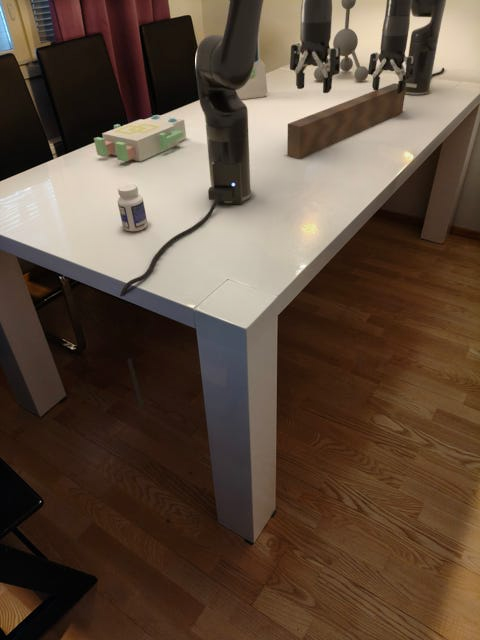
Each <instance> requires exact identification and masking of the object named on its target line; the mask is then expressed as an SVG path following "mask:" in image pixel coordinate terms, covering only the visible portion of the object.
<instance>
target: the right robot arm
mask: <svg viewBox="0 0 480 640" xmlns="http://www.w3.org/2000/svg"><path fill="white" fill-rule="evenodd" d="M446 3H447V0H386V5H385V6H386V7H385V14H384V20H383V24H382V29H381V41H380V48H379V49H380V53H378V52H373V53H370V57H369V62H368V67H367V70H368V76H369V75H370V76H371V77H372V85H371V86H372V90H373V91H375V90H378V89H380V88H379V87H380V80H381V74H382V73H383V72H384V71H385V72H386V71H390V72H394V74H396V75H397V77H398V79H399V80H398V83H397V84H398V89H397V93H398V94H400V93H402V92H403V91H404V89H405V85H406V92H405V95H410V96H423V95H427V94H429V93H430V87H431V83H432V78H433V77H435V76H437V75H442V74H443V73H444V72H445V68H444V67H442V68H441V70H440V71H438V72H434V73H433V71H434V66H435V59H436V53H437V49H438V42H439V36H440V32H441V26H442V22H443V16H444V11H445V7H446ZM411 15H412V17H415V18H430V20H429V22H428V23H427V24H425V25H423V26H421V27H418V28H415V29H414V30H412V31H411V35H410V41H409V47H408V54H407V56H406V50H407V45H408V38H409V31H410V24H411V23H410V22H411ZM378 61H379V65H378V66H377V63H378ZM404 64H405V66H404Z"/></svg>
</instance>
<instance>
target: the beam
mask: <svg viewBox="0 0 480 640" xmlns="http://www.w3.org/2000/svg"><path fill="white" fill-rule="evenodd" d="M397 89H398V83H391V84H388V85H386V86H383V87H381V88H379V89H378V90H373V91H370V92H368V93H364V94H363V95H360V96H357V97H355V98H352V99H349V100H347V101H344V102H341V103H339V104H337V105H334V106H331V107H329V108H326V109H323V110H320V111H318V112H315V113H313V114H310V115H307V116H304V117H302V118H299V119H297V120H294V121H292V122H289V123H287V143H286V144H287V152H286V153H287V154H286V155H287V156H288V157H291V158H296V159H299V160H300V159H303V158H305V157H307V156H309V155H312V154H313V153H316V152H318V151H320V150H322V149H325V148H327V147H329V146H331V145H334V144H336V143H338V142H340V141H342V140H345V139H347V138H349V137H351V136H354V135H355V134H358V133H360V132H362V131H364V130H367V129H369V128H371V127H373V126H376V125H378V124H380V123H383V122H384V121H387V120H389V119H391V118H393V117H396V116H398V115H400V114H402V113H403V112H404V111H403V110H404V105H405V97H406V94H405V92H406V85H405V89H404V91H403V92H402V93H400V94H398V93H397Z"/></svg>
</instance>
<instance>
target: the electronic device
mask: <svg viewBox="0 0 480 640" xmlns="http://www.w3.org/2000/svg"><path fill="white" fill-rule="evenodd" d="M260 49H261V48H260V31H259V32H258V40H257V48H256V55H255V62H254V67H253V71H252V74H251V76H250V78H249V80H248V82H247V83H246V84H245V85H244V86H243V87H242V88H240V89H238V90H236V92H237V94H238V96H239V98H240V99H241V100H247V99H255V98H256V99H257V98H265V97H266V96H267V94H268V84H267V83H268V82H267V75H266V74H267V73H266V66H265V62H264V61H263V60H262V59H261V56H260V52H261V50H260Z"/></svg>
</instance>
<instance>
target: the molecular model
mask: <svg viewBox="0 0 480 640" xmlns="http://www.w3.org/2000/svg"><path fill="white" fill-rule="evenodd" d="M340 2H341V6H342V8H343V9H344V10H345V20H344V28H342V29H340V30H339V31H338V32H337V33H336V34H335V36H334V38H333V42H332V47H333V48H337V47H339V48H340V57H343V58H342V59H340V70H341V71H343V72H349V71H351V69H353V66H354V63H355V66H356V69H355V70H354V74H353V76H354V78H355V80H356V81H358V82H364V81H366V80H367V78H368V77H369V74H368V67H366V66H363V65H360V62H359V59H358V56H357V53H356V49H357V47H358V42H359V41H358V40H359V39H358V35H357V34H356V32H355V31H354V30H353V29H351V28H350V27H349V26H350V15H351V13H350V12H351V9H353V8H354V7H355V5H356V3H357V0H341V1H340ZM350 55H351V56H352V58H353V59H352V58H351V57H349V56H350ZM328 59H329V61H330V57H328ZM353 61H354V62H353ZM313 77H314V79H315V81H318V82H323V79H324V75H323V72H322V71H321V70H320V69H319V67H318V66H316V68H315V70H314V72H313Z"/></svg>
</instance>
